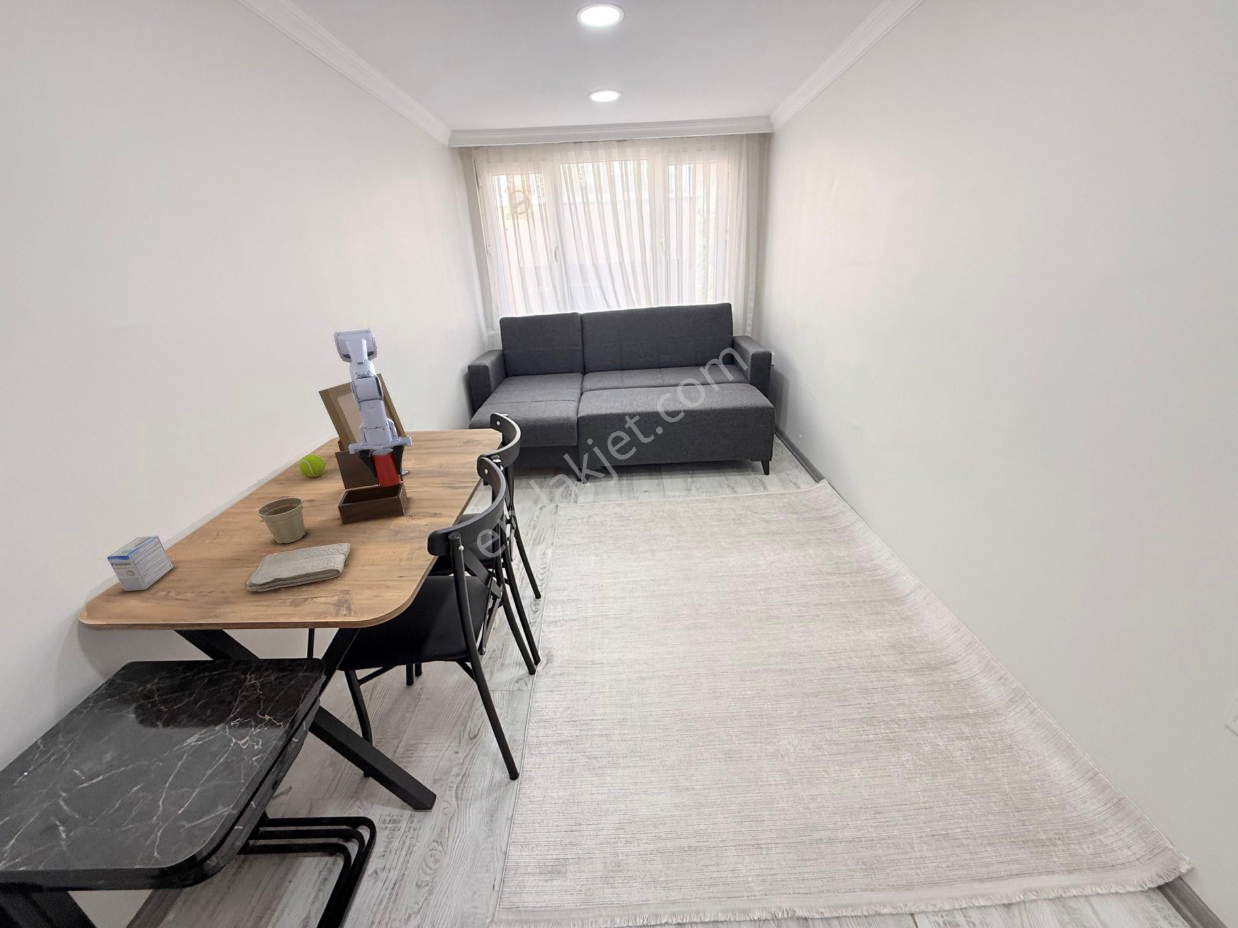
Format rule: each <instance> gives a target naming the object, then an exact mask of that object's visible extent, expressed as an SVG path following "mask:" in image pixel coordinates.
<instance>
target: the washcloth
mask: <svg viewBox="0 0 1238 928" xmlns="http://www.w3.org/2000/svg"><path fill="white" fill-rule="evenodd" d="M351 546H352V545H351V544H350V543H348V542H340V543H332V544H328V545H318V546H312V547H311V546H310V547H307V548H305V547H303V548H299V549H295V550H286V551H282V552H281V551H280V552H275V553H274V552H273V553H270V554H267V555H266V556H265V557H263V558H261V559H260V563H259V565H258V566H257V568H256V569H255V570H254V572H253V573H252V574H251V575H250V577H249V579H248V580H247V582H246V583H245V586H247V587H246V589H247V591H254V592H266V591H271V590H275V589H279V588H287V587H293V586H300V585H303V584H308V583H314V582H315V583H316V582H319V581H326V580H331V579H334V578H336V577H339V576H340V575H341V574H342V572H343V571H344V565H345V562H346V560H347V559H348V557H349V554H350V551H351Z"/></svg>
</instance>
